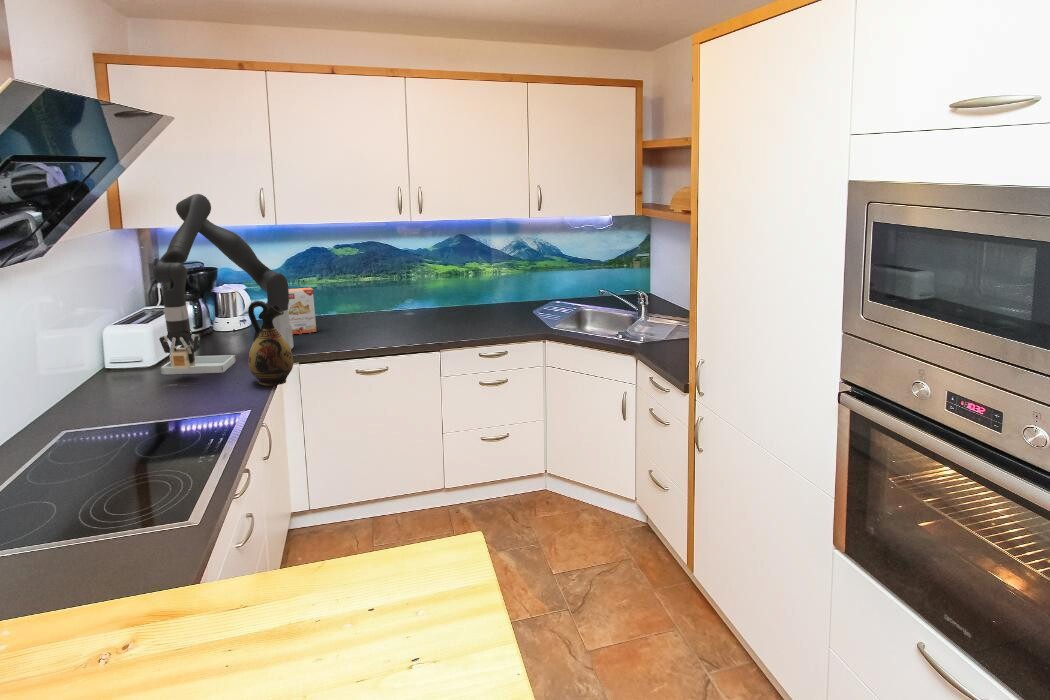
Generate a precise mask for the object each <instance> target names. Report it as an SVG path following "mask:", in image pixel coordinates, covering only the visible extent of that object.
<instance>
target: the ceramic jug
mask: <svg viewBox="0 0 1050 700" xmlns="http://www.w3.org/2000/svg"><path fill="white" fill-rule="evenodd" d="M266 303H267V302H265V301H261V300H255V301H252V302H251V303H250V304H249V306H248V308H247V309H248V310H247V312H248V316H249V320H250V322H251V324H252V326H253V329H254V334H253V340H252V341H253V343H252V344H251V347H250V349H249V353H248V361H247V362H248V369H249V372H250V373H251V375H252V376H254V377H255V378H256V379H257V380H258V384H259V385H262V386H266V387H267V386H268V387H277V386H279V385H284V384H286V383H287V379H288V377H289V375H290V373H291V372H292V370H293V367H294V356H293V353H292V349H291V350H290V347H289V346H288V344H287V342H286V341H285V339H284V338H283V337H282V335H281V334H280V333H279V332H278V331H277V330H276V328H275V327H274V326H273V319H274V318H276V317H278V316H280V315H283V314H284V312H283V311H282V310H281V308H280V307H279V306H277V305H274V306H273V307H272V306H271V307H270V308H268V306H267V304H266ZM258 307H260V308H261V309H262V311H261V312H260V313H259V314H258V319H259V320H262V324H261V328H260V325H259V323H258V321H257V318H256V314H255V308H258Z"/></svg>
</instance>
